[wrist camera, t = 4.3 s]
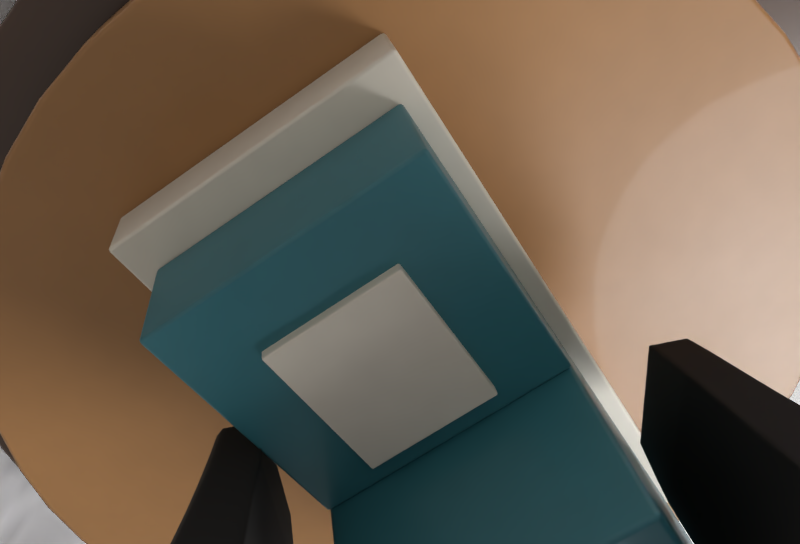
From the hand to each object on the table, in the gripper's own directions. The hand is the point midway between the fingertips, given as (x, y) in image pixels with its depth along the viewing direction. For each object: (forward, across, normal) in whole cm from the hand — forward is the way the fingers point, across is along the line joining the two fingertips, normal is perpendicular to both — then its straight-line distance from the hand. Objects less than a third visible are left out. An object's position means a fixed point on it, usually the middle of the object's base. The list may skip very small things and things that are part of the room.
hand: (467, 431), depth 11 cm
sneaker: (+3, 0, 0) cm, 3 cm away
